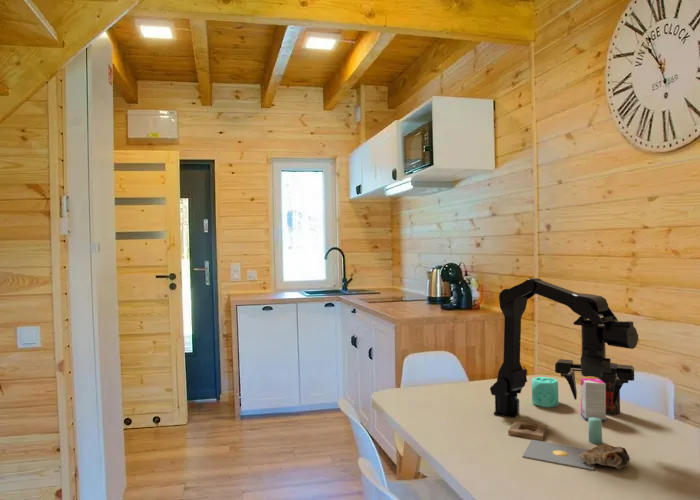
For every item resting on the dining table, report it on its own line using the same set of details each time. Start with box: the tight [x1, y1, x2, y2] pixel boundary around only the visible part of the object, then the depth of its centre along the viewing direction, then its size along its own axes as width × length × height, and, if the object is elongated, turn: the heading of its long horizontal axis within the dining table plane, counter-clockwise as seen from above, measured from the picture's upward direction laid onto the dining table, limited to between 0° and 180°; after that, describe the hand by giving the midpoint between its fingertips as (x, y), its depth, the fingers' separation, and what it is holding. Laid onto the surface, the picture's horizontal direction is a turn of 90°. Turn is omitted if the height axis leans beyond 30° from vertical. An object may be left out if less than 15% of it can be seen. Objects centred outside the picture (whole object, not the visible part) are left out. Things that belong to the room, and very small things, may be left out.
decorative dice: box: [531, 376, 559, 408], centre depth 164 cm, size 8×8×8 cm
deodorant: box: [597, 362, 621, 416], centre depth 155 cm, size 6×6×15 cm
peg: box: [588, 417, 603, 445], centre depth 132 cm, size 3×3×6 cm
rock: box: [579, 444, 631, 470], centre depth 118 cm, size 9×6×10 cm
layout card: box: [522, 439, 596, 471], centre depth 124 cm, size 16×12×1 cm
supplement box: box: [580, 377, 607, 422], centre depth 150 cm, size 6×6×12 cm
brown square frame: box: [507, 420, 549, 441], centre depth 139 cm, size 9×9×1 cm
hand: (594, 401), depth 132 cm, fingers open, 9 cm apart
